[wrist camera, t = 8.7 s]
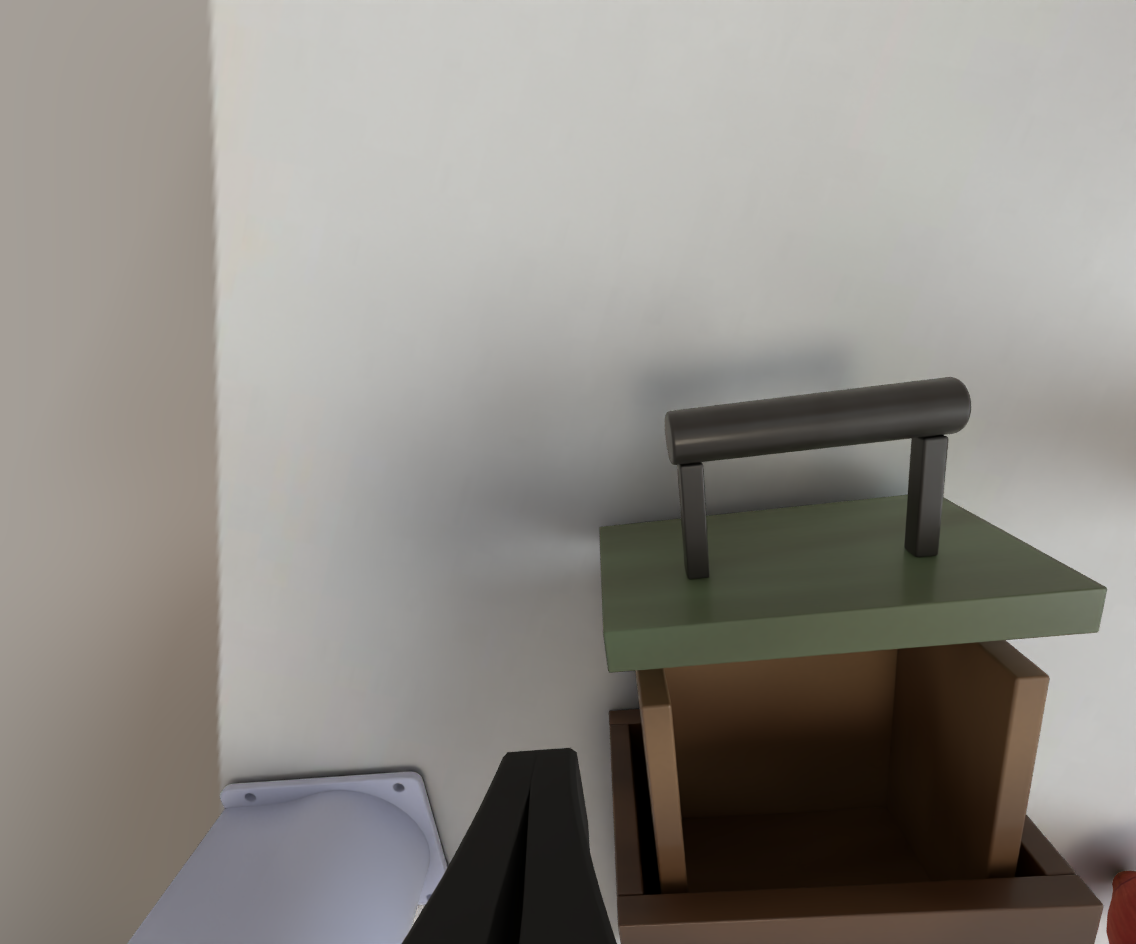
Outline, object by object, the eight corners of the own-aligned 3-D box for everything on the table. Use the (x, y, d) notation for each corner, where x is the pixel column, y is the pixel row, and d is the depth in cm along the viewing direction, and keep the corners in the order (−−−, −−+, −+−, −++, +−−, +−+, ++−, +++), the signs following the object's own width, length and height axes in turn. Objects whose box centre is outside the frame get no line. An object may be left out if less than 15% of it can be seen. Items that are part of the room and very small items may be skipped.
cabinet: (608, 709, 22) (617, 926, 15) (918, 686, 21) (1105, 905, 14) (639, 942, 27) (659, 1203, 19) (897, 931, 26) (1029, 1202, 18)
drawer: (582, 396, 17) (578, 445, 11) (945, 350, 16) (1151, 378, 10) (634, 810, 23) (650, 992, 17) (908, 794, 22) (1028, 980, 16)
